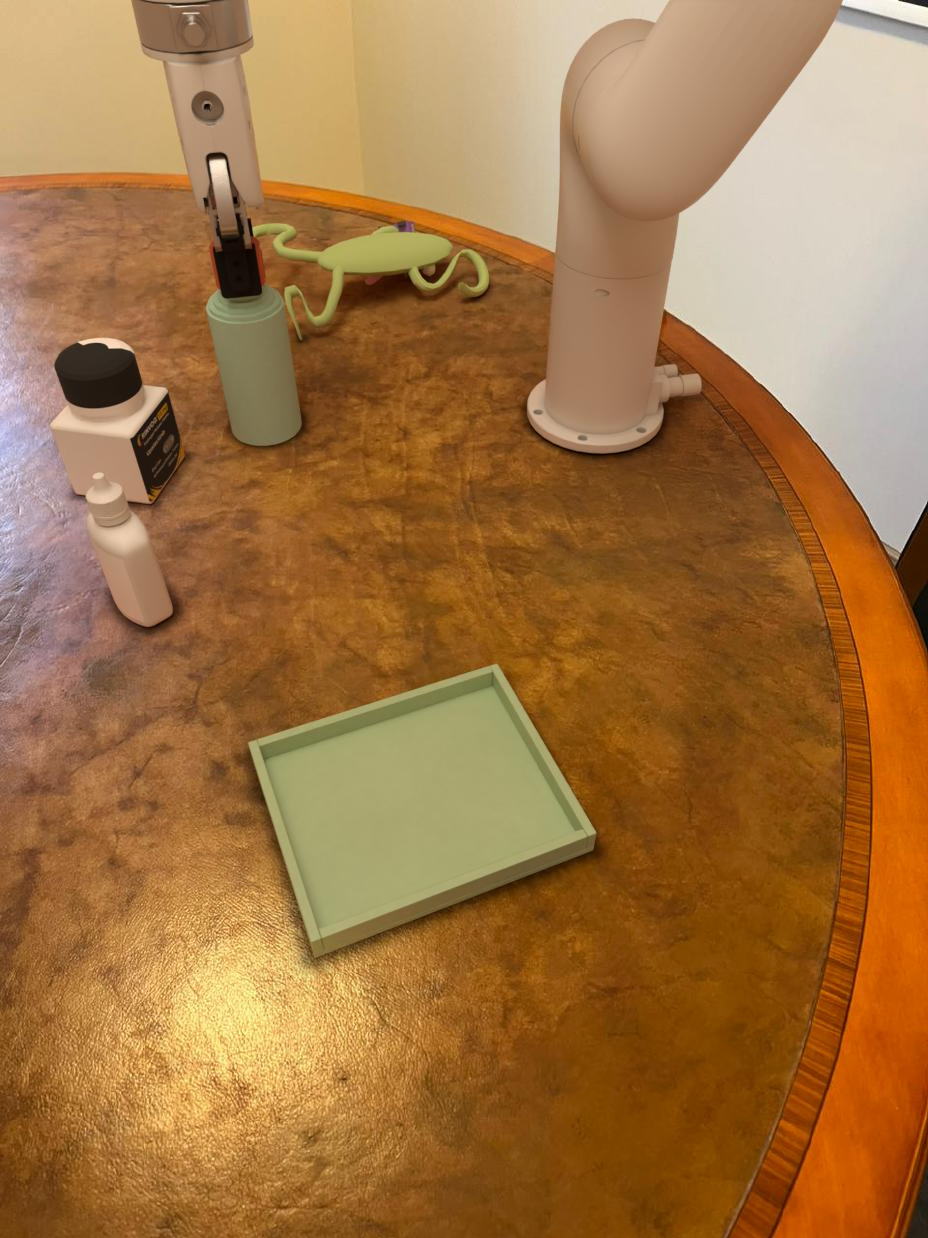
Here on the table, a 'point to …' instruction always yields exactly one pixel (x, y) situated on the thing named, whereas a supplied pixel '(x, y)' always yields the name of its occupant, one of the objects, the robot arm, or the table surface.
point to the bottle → (255, 366)
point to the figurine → (374, 261)
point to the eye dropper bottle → (126, 555)
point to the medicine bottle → (114, 421)
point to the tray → (414, 805)
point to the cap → (259, 259)
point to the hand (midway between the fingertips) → (240, 279)
